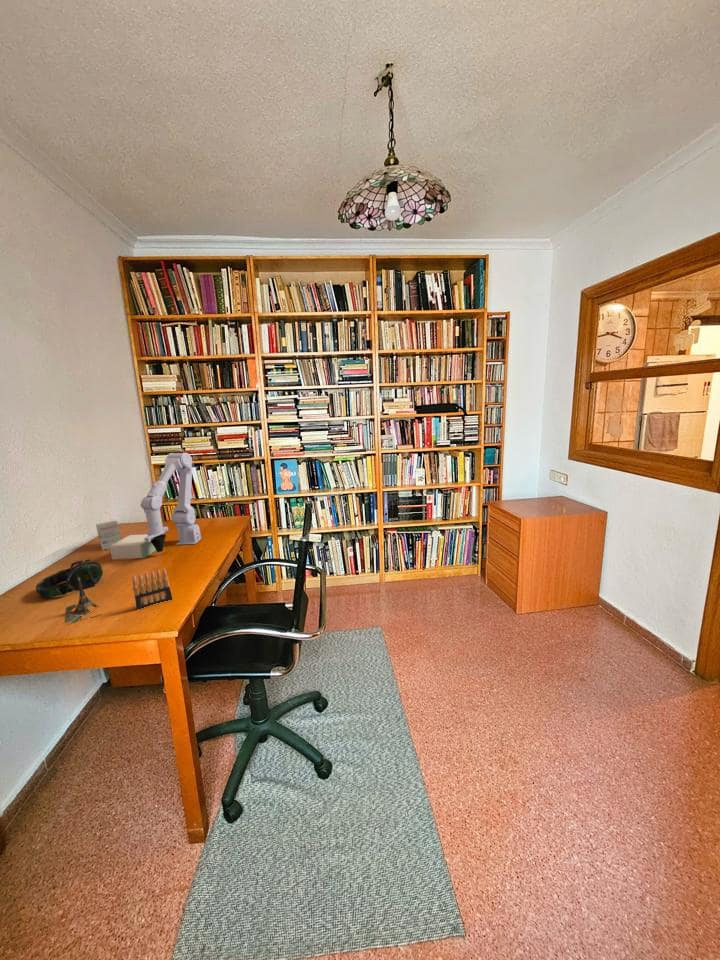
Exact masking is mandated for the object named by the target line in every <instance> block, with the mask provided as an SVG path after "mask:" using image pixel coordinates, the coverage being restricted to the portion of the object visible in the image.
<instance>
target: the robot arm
mask: <svg viewBox="0 0 720 960" xmlns="http://www.w3.org/2000/svg"><path fill="white" fill-rule="evenodd" d="M164 462H165V463H164V464H165V465H164V467H163V469H162V472H161V474H160V476H159V478H158V480H156V481H154V482H153V483H152V485H151V487H150V490H149V492H148V493H147V495H146V496H144V497H143V498H142V499H141V501H140V508H142V510H143V512H144V513H145V517H146V522H147V523H146V524H147V528H148V529H147V530H148V532H146V534H147V536H146V537H145V538H144V539H145V542H151V543H152V544H153V545H154V547H155V549H156V551H155V552H157V553H162V552H163V550H164V545H165V541H166V540H165V539H166V538H167V534H165V532H169V527H168V526H163V525H164V524H163V520H162V515H161V514H162V513H161V507H162V506H163V497H164V495H165V493H166V491H167V489H168V485H167V483H168V482H169V480H170V478H171V477H172V476H173V474H174V472H175V471H178V473H179V482H178V483H179V484H178V498H177V505H176V506H175V507H174V508H173V512H172V515H171V521H172V523H173V524H174V526H176V529H177V535H178V542H177V543H175V545H176V546H177V545H179V546H181V545H183V546H184V545H195V544H196V543H198V542H199V541H201V540H202V535H201V530H200V529H201V528H200V526H199V524H197V523H196V524H195V522H196V518H197V517H196V513H195V512H196V511H195V508H194V507H193V506H192V505H191V500H192V499H191V498H192V484H193V483H192V480H193V457H192V456H191V454H190V453H187V452H178V453H177V452H176V453H175V452H169V453H168V454H167V456H166V458H165V459H164Z"/></svg>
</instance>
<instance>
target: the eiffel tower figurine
mask: <svg viewBox="0 0 720 960" xmlns="http://www.w3.org/2000/svg"><path fill="white" fill-rule="evenodd" d="M77 580H78V584H79V588H78V589H79V591H78V592H79V596H78V598H79V599H78V603H77V604H72V605H68V606H66V609H65V618H64V623H67V624H68V623H69V624H70V623H71V624H72V623H77V622H79V619H80V621H82V620H81V618H82V616H80V615H84V616H87V615H89V614H90V613H91V612H90V611H89V610H88V609H87V607H88V606H94V607H98V606H99V605H98V604H96V603H94V602H93V601H92V599H91V600H90V599H89V598H88V596H87V594H86V593H85V589H84V588H83V587H82V584H81V581H80V578H79V577H78V578H77ZM83 589H84V590H83ZM76 605H77V606H76ZM98 608H99V607H98ZM72 610H73V611H72ZM88 611H89V612H90V613H89V612H88ZM88 613H89V614H88ZM83 620H85V618H84V619H83Z"/></svg>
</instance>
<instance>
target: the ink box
mask: <svg viewBox="0 0 720 960" xmlns="http://www.w3.org/2000/svg"><path fill="white" fill-rule="evenodd" d="M95 526H96V530H97V535H98V540H99V545H100V548H101V550H102V551H104V550H103V549H107V548H110V546H111V545H112V544H114V543H116V542H118V541H120V540H122V535H121V531H120V526H119V524H118V521H117V520H115V519H114V520H111V521H106V522H100V523H98V524H97V523H96V524H95ZM107 550H108V549H107Z"/></svg>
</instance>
